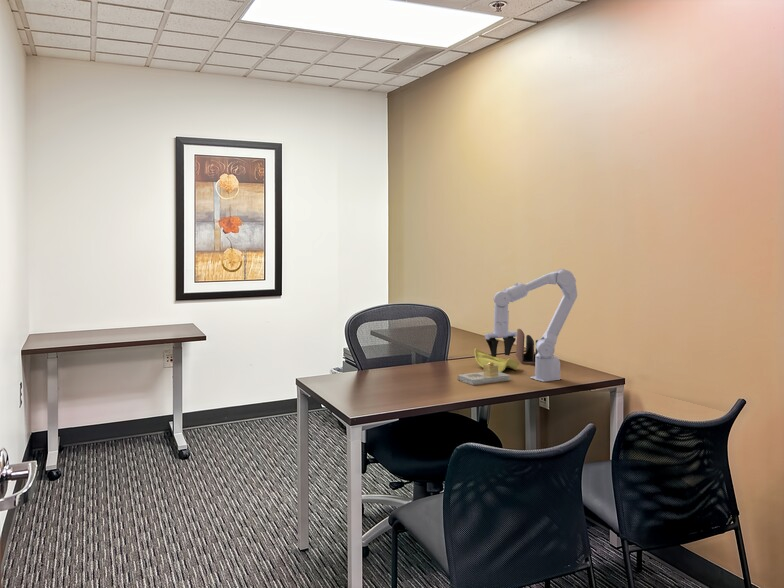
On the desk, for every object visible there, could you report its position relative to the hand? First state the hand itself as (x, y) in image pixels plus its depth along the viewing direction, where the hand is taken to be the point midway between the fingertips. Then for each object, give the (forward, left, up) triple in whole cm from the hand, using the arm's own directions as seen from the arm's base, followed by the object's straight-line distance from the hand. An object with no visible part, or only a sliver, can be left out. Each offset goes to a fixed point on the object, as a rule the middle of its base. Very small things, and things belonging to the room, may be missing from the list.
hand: (500, 355), depth 246 cm
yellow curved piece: (-11, -17, -9) cm, 22 cm away
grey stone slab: (+8, 0, -9) cm, 12 cm away
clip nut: (+5, 0, -7) cm, 8 cm away
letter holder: (-36, -24, -9) cm, 44 cm away
